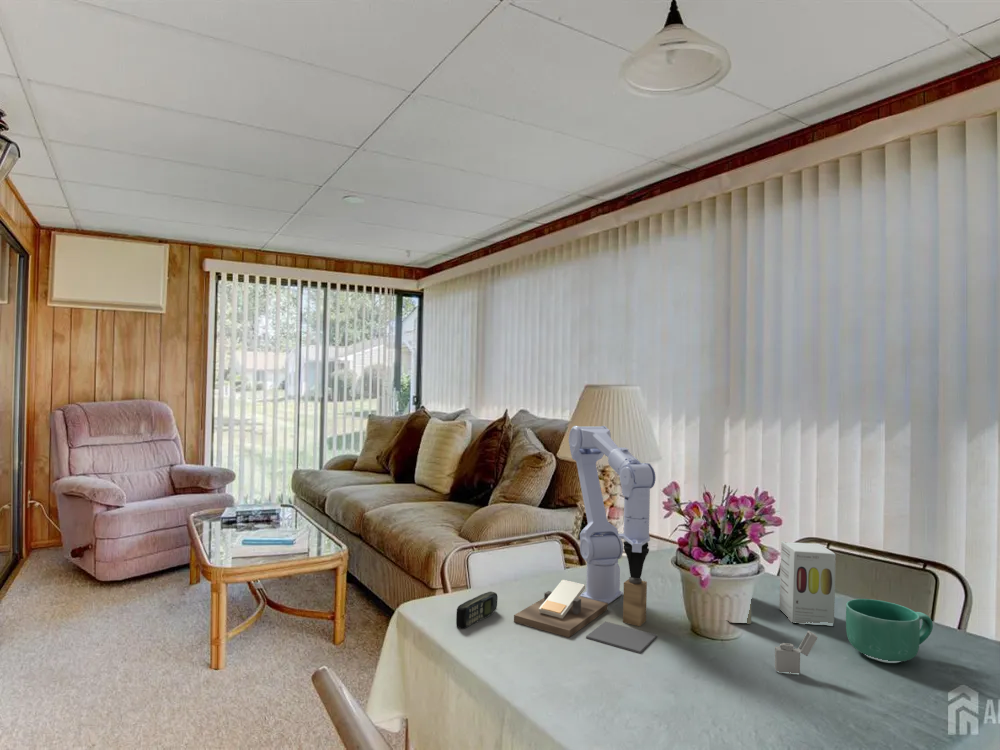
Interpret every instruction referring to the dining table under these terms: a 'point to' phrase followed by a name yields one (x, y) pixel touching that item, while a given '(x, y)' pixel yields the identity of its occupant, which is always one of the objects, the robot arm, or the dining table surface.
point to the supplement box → (807, 582)
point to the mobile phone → (476, 609)
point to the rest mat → (622, 636)
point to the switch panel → (571, 622)
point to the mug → (885, 629)
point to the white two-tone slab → (561, 598)
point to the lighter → (793, 654)
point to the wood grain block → (634, 601)
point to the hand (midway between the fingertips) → (635, 575)
